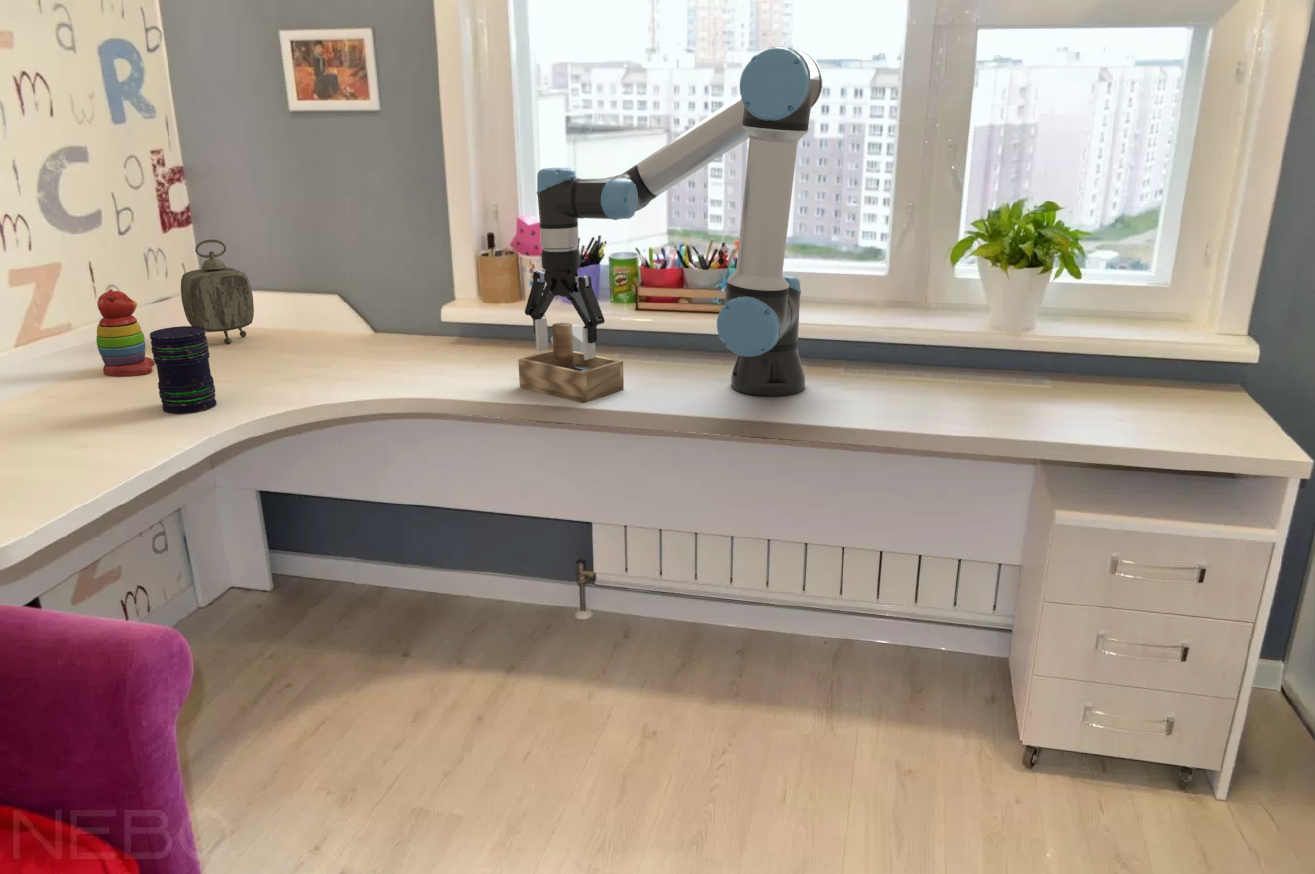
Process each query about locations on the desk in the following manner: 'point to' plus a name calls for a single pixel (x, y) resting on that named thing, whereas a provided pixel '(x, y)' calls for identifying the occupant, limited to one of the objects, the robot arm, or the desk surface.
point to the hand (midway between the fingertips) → (565, 354)
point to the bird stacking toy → (121, 337)
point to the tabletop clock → (217, 296)
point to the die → (576, 338)
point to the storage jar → (183, 369)
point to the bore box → (571, 376)
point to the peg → (563, 345)
